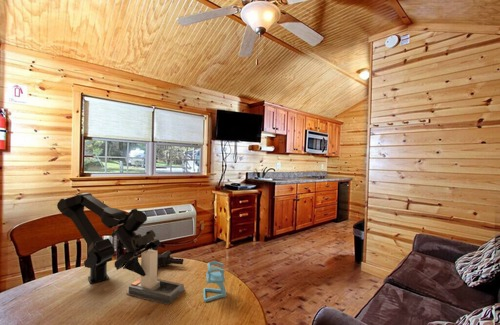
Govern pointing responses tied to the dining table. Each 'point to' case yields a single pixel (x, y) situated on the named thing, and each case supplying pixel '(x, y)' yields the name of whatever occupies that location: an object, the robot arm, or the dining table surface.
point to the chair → (215, 280)
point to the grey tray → (157, 291)
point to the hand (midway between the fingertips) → (151, 271)
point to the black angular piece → (168, 259)
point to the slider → (149, 270)
